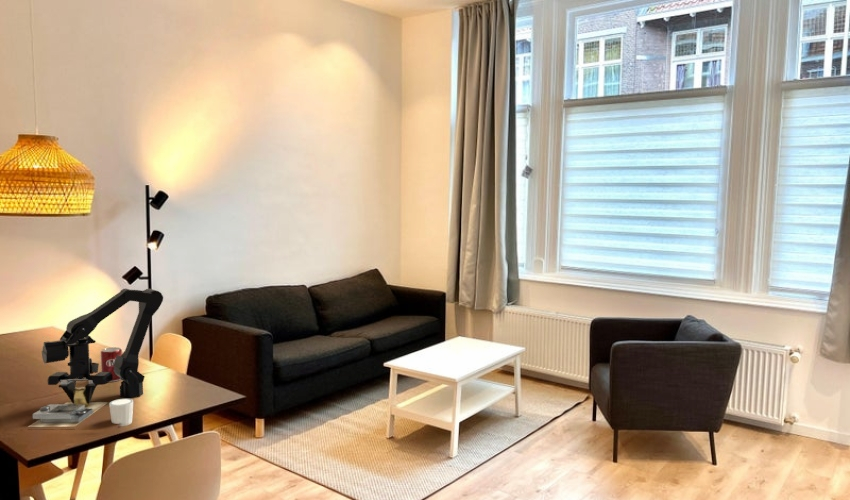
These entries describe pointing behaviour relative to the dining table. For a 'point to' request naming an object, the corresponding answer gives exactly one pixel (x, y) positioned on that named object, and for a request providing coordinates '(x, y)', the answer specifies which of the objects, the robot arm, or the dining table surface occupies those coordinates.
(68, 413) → the square frame with knobs
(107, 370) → the soda can
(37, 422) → the board
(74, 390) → the pin
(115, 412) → the white short tapered cylinder
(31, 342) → the dining table surface
